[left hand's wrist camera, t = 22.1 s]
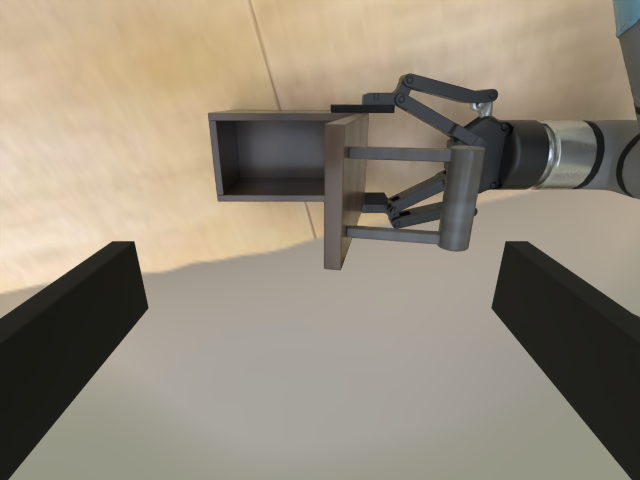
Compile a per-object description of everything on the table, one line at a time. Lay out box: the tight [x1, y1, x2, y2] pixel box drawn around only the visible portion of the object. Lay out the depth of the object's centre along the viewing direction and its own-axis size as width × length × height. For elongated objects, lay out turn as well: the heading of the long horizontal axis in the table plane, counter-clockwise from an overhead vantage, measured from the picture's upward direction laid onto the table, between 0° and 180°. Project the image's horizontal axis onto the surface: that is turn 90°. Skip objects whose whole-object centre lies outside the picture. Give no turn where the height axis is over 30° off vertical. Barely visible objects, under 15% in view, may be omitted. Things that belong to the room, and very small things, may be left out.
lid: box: [324, 113, 485, 270], centre depth 28 cm, size 16×9×9 cm
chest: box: [208, 110, 357, 201], centre depth 41 cm, size 16×9×10 cm, turn 90°
